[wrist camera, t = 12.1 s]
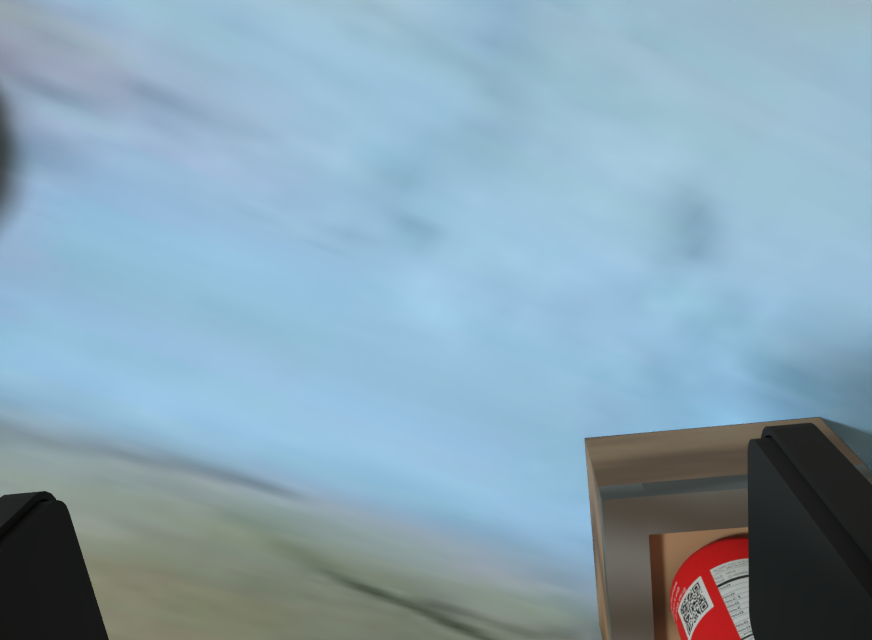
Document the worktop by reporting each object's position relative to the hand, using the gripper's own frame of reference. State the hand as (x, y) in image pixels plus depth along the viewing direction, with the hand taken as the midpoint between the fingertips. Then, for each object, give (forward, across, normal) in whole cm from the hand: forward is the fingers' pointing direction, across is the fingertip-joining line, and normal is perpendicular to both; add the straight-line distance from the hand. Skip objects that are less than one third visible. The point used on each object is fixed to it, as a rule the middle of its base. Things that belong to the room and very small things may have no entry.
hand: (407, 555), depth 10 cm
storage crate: (+28, -11, +19) cm, 36 cm away
